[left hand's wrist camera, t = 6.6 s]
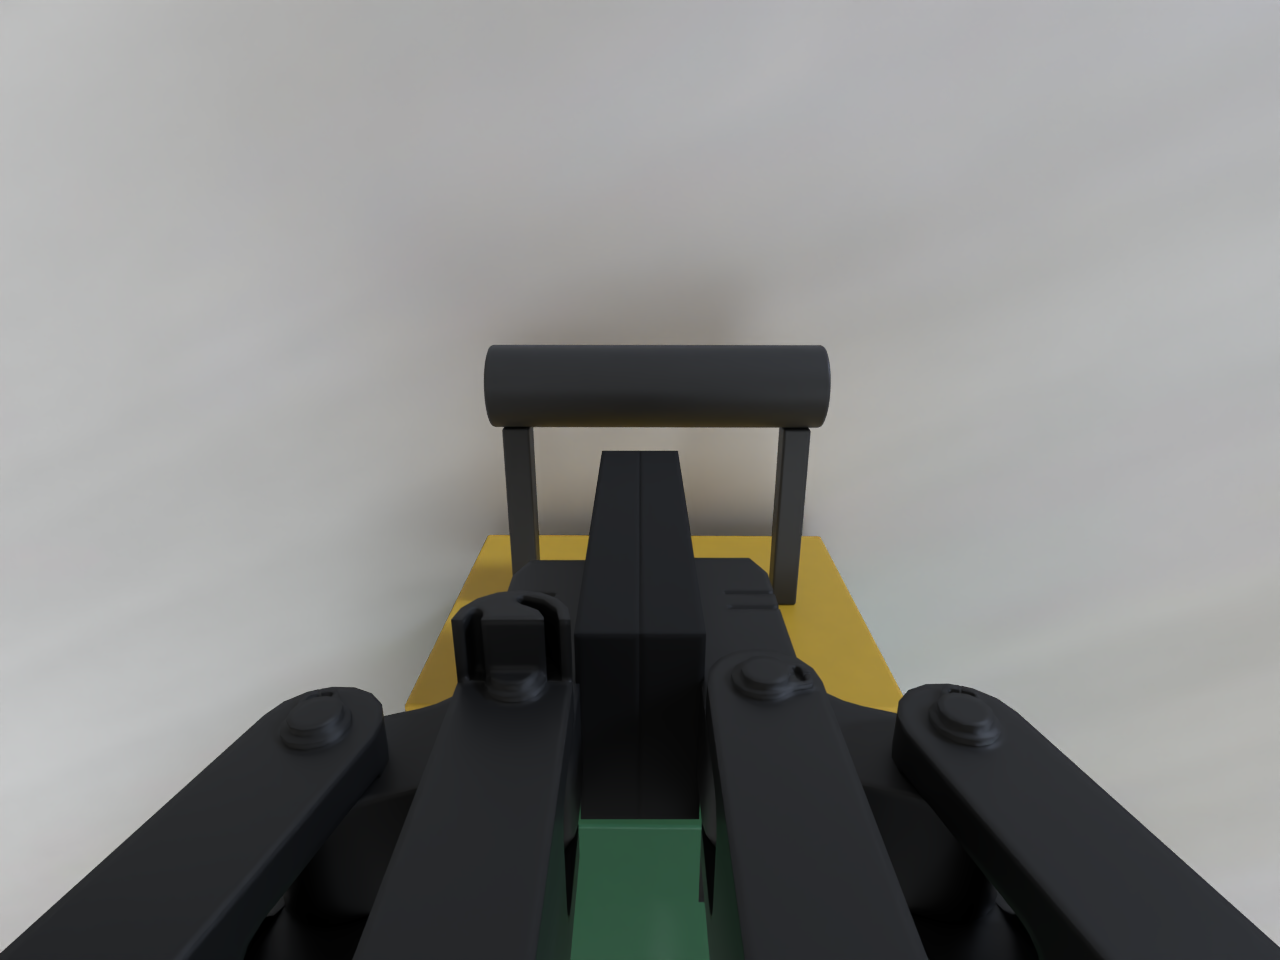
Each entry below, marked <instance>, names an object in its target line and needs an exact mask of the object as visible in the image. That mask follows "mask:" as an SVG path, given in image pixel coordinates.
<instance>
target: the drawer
mask: <svg viewBox="0 0 1280 960" xmlns="http://www.w3.org/2000/svg"><path fill="white" fill-rule="evenodd" d="M830 387H831V375H830V364H829V358H828V354H827V351H826V349H825V348H824V347H823V346H821V345H492V346H490V347H489V349H488V352H487V355H486V360H485V368H484V396H485V405H486V410H487V415H488V418H489V421H490V423H491V424H492V425H493V426H495V427H504V428H503V430H502V432H503V447H504V461H505V475H506V489H507V503H508V518H509V532H510V535H489V536H488V537H487V539H486V541H485V543H484V545H483V547H482V549H481V551H480V553H479V555H478V557H477V559H476V561H475V563H474V565H473V567H472V570H471V572H470V574H469V576H468V578H467V580H466V582H465V584H464V586H463V588H462V590H461V592H460V594H459V596H458V598H457V600H456V602H455V604H454V606H453V608H452V610H451V612H450V614H449V617H448V619H447V621H446V623H445V625H444V627H443V629H442V631H441V633H440V635H439V637H438V639H437V641H436V643H435V645H434V647H433V649H432V651H431V653H430V655H429V657H428V659H427V661H426V664H425V666H424V668H423V670H422V672H421V674H420V676H419V678H418V680H417V682H416V684H415V686H414V688H413V690H412V692H411V694H410V696H409V698H408V700H407V702H406V705H405V711H411V710H415V709H420V708H423V707H427V706H430V705H433V704H437V703H439V702H441V701H443V700H446V699H448V698H450V697H452V696H453V693H454V691H455V688H456V685H457V683H458V681H457V672H456V663H455V653H454V644H453V634H452V625H451V619H452V618H453V617H454V616H455V614H456V613H457V612H458V611H459V609H460V608H462V607H463V606H465V605H467V604H468V603H470V602H472V601H474V600H475V599H477V598H480V597H484V596H487V595H490V594H494V593H497V592H506V591H508V588H509V585H510V582H511V579H512V576H513V575H514V574H515V573H516V572H517V571H519V570H520V569H521V568H522V567H523V566H524V565H526V564H527V563H528V562H529V561H530V560H585V559H586V552H587V546H588V539H589V535H539V529H538V510H537V492H536V474H535V456H534V438H533V427H779V441H778V456H777V470H776V484H775V498H774V513H773V527H772V536H691V539H692V546H693V552H694V558H750V559H751V560H752V561H754V562H755V563H756V564H757V565H758V566H760V567H761V568H762V569H763V570H764V571H766V572H767V573H768V576H769V579H770V582H771V585H772V588H773V593H774V594H775V596H776V599H777V602H778V605H779V609H780V611H781V614H782V617H783V619H784V622H785V625H786V628H787V631H788V634H789V637H790V640H791V642H792V645H793V648H794V651H795V654H796V657H797V658H799V659H800V660H802V661H803V662H804V663H806V664H807V665H809V666H810V667H812V668H813V669H814V670H815V672H816V673H817V674H818V676H819V677H820V679H821V680H822V682H823V684H824V687H825V689H826V692H827V693H828V694H830V695H832V696H835V697H837V698H839V699H841V700H843V701H847V702H850V703H854V704H857V705H861V706H865V707H870V708H875V709H879V710H884V711H889V712H893V713H897V709H898V702H899V700H900V699H901V698H902V697H903V695H902V693H901V691H900V689H899V687H898V685H897V683H896V681H895V679H894V677H893V676H892V674H891V672H890V670H889V668H888V666H887V664H886V662H885V660H884V658H883V656H882V654H881V653H880V651H879V649H878V647H877V645H876V643H875V641H874V639H873V637H872V635H871V633H870V631H869V630H868V628H867V626H866V624H865V622H864V620H863V618H862V616H861V614H860V612H859V610H858V608H857V607H856V605H855V603H854V601H853V599H852V597H851V595H850V593H849V591H848V589H847V587H846V585H845V584H844V582H843V580H842V578H841V576H840V574H839V572H838V570H837V568H836V566H835V564H834V562H833V561H832V559H831V557H830V555H829V553H828V551H827V549H826V547H825V545H824V543H823V541H822V539H821V538H820V537H818V536H802V525H803V514H804V502H805V490H806V479H807V467H808V455H809V444H810V429H809V428H818V427H821V426H822V425H823V423H824V421H825V418H826V415H827V411H828V407H829V400H830Z"/></svg>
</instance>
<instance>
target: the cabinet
mask: <svg viewBox="0 0 1280 960" xmlns="http://www.w3.org/2000/svg"><path fill="white" fill-rule="evenodd" d="M578 824H579V850H580V858H579V869H578V880H577V892H576V903H575V914H574V925H573V936H572V947H571V958H570V960H710V957H709V946H708V935H707V924H706V913H705V902H698V901H699V876H700V850H701V824H702V819H701V809H700V811H699V819H581V811H580V813H579V823H578Z"/></svg>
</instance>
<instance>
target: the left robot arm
mask: <svg viewBox="0 0 1280 960" xmlns="http://www.w3.org/2000/svg"><path fill="white" fill-rule="evenodd" d="M451 625H452V634H453V644H454V653H455V663H456V672H457V681H458V683H457V685H456V688H455V691H454V693H453V696H452V697H450V698H448V699H446V700H443V701H441V702H439V703H437V704H433V705H430V706H427V707H423V708H420V709H415V710H411V711H406V712H401V713H397V714H392V715H387V716H384V715H383V709H382V704H381V703H380V702H379V701H378V700H377V699H376V697H375V696H374V695H373V694H372V693H369V692H366V691H363V690H360V689H357V688H354V687H329V688H324V689H318V690H314V691H309V692H306V693H304V694H301V695H299V696H296V697H294V698H292V699H289V700H287V701H284V702H283V703H281V704H280V705H278V706H277V707H275V708H274V709H273V710H271V711H270V712H268V713H267V714H265V715H264V716H263V717H262V718H261V719H259V720H258V721H257V722H256V723H255V724H254V725H253V726H252V727H251V728H249V729H248V730H247V731H246V732H245V733H244V734H243V735H242V736H241V737H239V738H238V739H237V740H236V741H235V742H234V743H233V744H232V745H231V746H229V747H228V748H227V749H226V750H225V751H224V752H223V753H222V754H221V755H220V756H218V757H217V758H216V759H215V760H214V761H213V762H212V763H211V764H210V765H208V766H207V767H206V768H205V769H204V770H203V771H202V772H201V773H200V774H198V775H197V776H196V777H195V778H194V779H193V780H192V781H191V782H190V783H189V784H187V785H186V786H185V787H184V788H183V789H182V790H181V791H180V792H179V793H177V794H176V795H175V796H174V797H173V798H172V799H171V800H170V801H169V802H167V803H166V804H165V805H164V806H163V807H162V808H161V809H160V810H159V811H157V812H156V813H155V814H154V815H153V816H152V817H151V818H150V819H149V820H148V821H146V822H145V823H144V824H143V825H142V826H141V827H140V828H139V829H138V830H136V831H135V832H134V833H133V834H132V835H131V836H130V837H129V838H128V839H126V840H125V841H124V842H123V843H122V844H121V845H120V846H119V847H118V848H116V849H115V850H114V851H113V852H112V853H111V854H110V855H109V856H108V857H107V858H105V859H104V860H103V861H102V862H101V863H100V864H99V865H98V866H97V867H95V868H94V869H93V870H92V871H91V872H90V873H89V874H88V875H87V876H85V877H84V878H83V879H82V880H81V881H80V882H79V883H78V884H77V885H75V886H74V887H73V888H72V889H71V890H70V891H69V892H68V893H67V894H66V895H64V896H63V897H62V898H61V899H60V900H59V901H58V902H57V903H56V904H54V905H53V906H52V907H51V908H50V909H49V910H48V911H47V912H46V913H44V914H43V915H42V916H41V917H40V918H39V919H38V920H37V921H36V922H34V923H33V924H32V925H31V926H30V927H29V928H28V929H27V930H26V931H25V932H23V933H22V934H21V935H20V936H19V937H18V938H17V939H16V940H15V941H13V942H12V943H11V944H10V945H9V946H8V947H7V948H6V949H5V950H3V951H2V952H1V953H0V960H570V958H571V947H572V936H573V925H574V914H575V903H576V892H577V880H578V869H579V858H580V850H579V824H578V823H579V813H580V811H581V819H699V811H700V809H701V819H702V824H701V850H700V876H699V901H698V902H705V913H706V924H707V935H708V946H709V957H710V960H1280V947H1279V946H1278V945H1276V944H1275V943H1274V942H1273V941H1272V940H1271V939H1270V938H1269V937H1267V936H1266V935H1265V934H1264V933H1263V932H1262V931H1261V930H1260V929H1259V928H1257V927H1256V926H1255V925H1254V924H1253V923H1252V922H1251V921H1250V920H1249V919H1247V918H1246V917H1245V916H1244V915H1243V914H1242V913H1241V912H1240V911H1238V910H1237V909H1236V908H1235V907H1234V906H1233V905H1232V904H1231V903H1230V902H1228V901H1227V900H1226V899H1225V898H1224V897H1223V896H1222V895H1221V894H1219V893H1218V892H1217V891H1216V890H1215V889H1214V888H1213V887H1212V886H1211V885H1209V884H1208V883H1207V882H1206V881H1205V880H1204V879H1203V878H1202V877H1200V876H1199V875H1198V874H1197V873H1196V872H1195V871H1194V870H1193V869H1192V868H1190V867H1189V866H1188V865H1187V864H1186V863H1185V862H1184V861H1183V860H1181V859H1180V858H1179V857H1178V856H1177V855H1176V854H1175V853H1174V852H1173V851H1171V850H1170V849H1169V848H1168V847H1167V846H1166V845H1165V844H1164V843H1163V842H1161V841H1160V840H1159V839H1158V838H1157V837H1156V836H1155V835H1154V834H1152V833H1151V832H1150V831H1149V830H1148V829H1147V828H1146V827H1145V826H1144V825H1142V824H1141V823H1140V822H1139V821H1138V820H1137V819H1136V818H1135V817H1133V816H1132V815H1131V814H1130V813H1129V812H1128V811H1127V810H1126V809H1125V808H1123V807H1122V806H1121V805H1120V804H1119V803H1118V802H1117V801H1116V800H1114V799H1113V798H1112V797H1111V796H1110V795H1109V794H1108V793H1107V792H1106V791H1104V790H1103V789H1102V788H1101V787H1100V786H1099V785H1098V784H1097V783H1096V782H1094V781H1093V780H1092V779H1091V778H1090V777H1089V776H1088V775H1087V774H1085V773H1084V772H1083V771H1082V770H1081V769H1080V768H1079V767H1078V766H1077V765H1075V764H1074V763H1073V762H1072V761H1071V760H1070V759H1069V758H1068V757H1066V756H1065V755H1064V754H1063V753H1062V752H1061V751H1060V750H1059V749H1058V748H1056V747H1055V746H1054V745H1053V744H1052V743H1051V742H1050V741H1049V740H1047V739H1046V738H1045V737H1044V736H1043V735H1042V734H1041V733H1040V732H1039V731H1037V730H1036V729H1035V728H1034V727H1033V726H1032V725H1031V724H1030V723H1028V722H1027V721H1026V720H1025V719H1024V718H1023V717H1022V716H1021V715H1020V714H1018V713H1017V712H1016V711H1014V710H1013V709H1012V708H1010V707H1009V706H1007V705H1006V704H1004V703H1003V702H1001V701H1000V700H998V699H997V698H995V697H992V696H990V695H987V694H985V693H982V692H980V691H978V690H975V689H973V688H968V687H964V686H959V685H952V684H925V685H922V686H919V687H917V688H914V689H911V690H908V691H907V693H906V694H905V695H904V696H903V697H902V698H901V699H900V700H899V702H898V709H897V713H893V712H889V711H884V710H879V709H875V708H870V707H865V706H861V705H857V704H854V703H850V702H847V701H843V700H841V699H839V698H837V697H835V696H832V695H830V694H828V693H827V692H826V689H825V687H824V684H823V682H822V680H821V679H820V677H819V676H818V674H817V673H816V672H815V670H814V669H813V668H812V667H810V666H809V665H807V664H806V663H804V662H803V661H802V660H800V659H799V658H797V657H796V654H795V651H794V648H793V645H792V642H791V640H790V637H789V634H788V631H787V628H786V625H785V622H784V619H783V617H782V614H781V611H780V609H779V605H778V602H777V599H776V596H775V594H774V593H773V588H772V585H771V582H770V579H769V576H768V573H767V572H766V571H764V570H763V569H762V568H761V567H760V566H758V565H757V564H756V563H755V562H754V561H752V560H751V559H750V558H694V552H693V546H692V539H691V533H690V526H689V520H688V514H687V507H686V501H685V494H684V488H683V481H682V475H681V468H680V462H679V456H678V451H602V455H601V462H600V468H599V475H598V481H597V488H596V494H595V501H594V507H593V514H592V520H591V526H590V533H589V539H588V546H587V552H586V559H585V560H530V561H529V562H528V563H527V564H526V565H524V566H523V567H522V568H521V569H520V570H519V571H517V572H516V573H515V574H514V575H513V576H512V579H511V582H510V585H509V588H508V591H506V592H497V593H494V594H490V595H487V596H484V597H480V598H477V599H475V600H474V601H472V602H470V603H468V604H467V605H465V606H463V607H462V608H460V609H459V611H458V612H457V613H456V614H455V616H454V617H453V618H452V619H451Z"/></svg>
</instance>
